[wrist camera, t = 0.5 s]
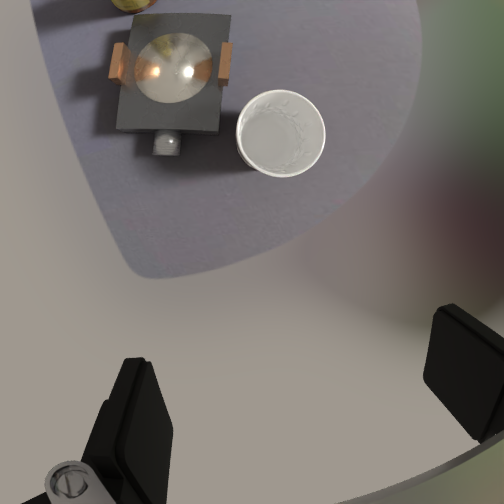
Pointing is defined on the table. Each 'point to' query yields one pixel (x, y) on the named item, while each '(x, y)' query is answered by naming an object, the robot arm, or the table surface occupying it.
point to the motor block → (172, 76)
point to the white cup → (280, 133)
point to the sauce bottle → (133, 5)
